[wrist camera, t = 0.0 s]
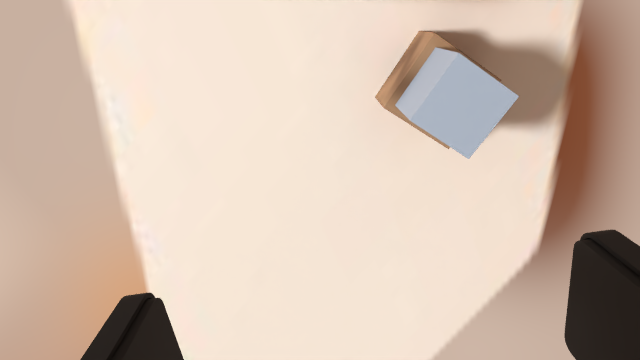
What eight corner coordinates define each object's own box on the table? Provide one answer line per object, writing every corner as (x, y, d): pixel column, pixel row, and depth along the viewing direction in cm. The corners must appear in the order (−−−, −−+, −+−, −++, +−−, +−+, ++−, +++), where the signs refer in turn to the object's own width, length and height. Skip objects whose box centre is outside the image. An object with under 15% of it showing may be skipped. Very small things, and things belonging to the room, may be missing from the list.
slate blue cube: (435, 47, 32) (459, 52, 27) (487, 84, 34) (519, 96, 28) (394, 105, 34) (410, 120, 29) (445, 138, 35) (468, 159, 30)
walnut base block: (418, 30, 37) (434, 32, 32) (477, 72, 38) (501, 80, 33) (374, 96, 39) (383, 107, 34) (432, 133, 40) (448, 149, 36)
